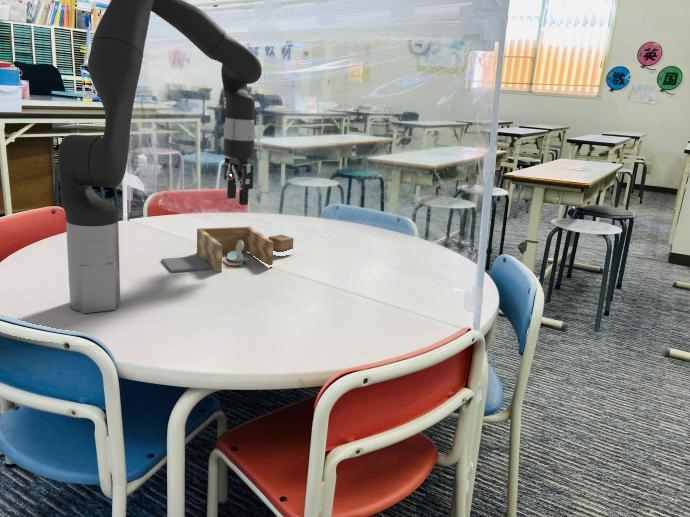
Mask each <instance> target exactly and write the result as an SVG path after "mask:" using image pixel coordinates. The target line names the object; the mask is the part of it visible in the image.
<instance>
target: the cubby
mask: <svg viewBox="0 0 690 517" xmlns="http://www.w3.org/2000/svg"><path fill="white" fill-rule="evenodd" d="M196 229H197V230H196V254H197V256H200V257H201V258H203V259H204V260H205V261H206V262H207V263H208V264H209V265H210V266H211V267H212V270H214V269H215V270H216V271H217V272H216V271H215V270H214V271H215V272H216V273H222V270H223V254H228V253H229V252H231V251H236V245H237V242H238V241H239V240H241V241H243V243H244V248H243V250H242V251H247V252H249V253H250V254H251V255H253V256H255V257H256V258H258V259H259V260H261V261H262V262H264V263H266V264H268V265H272V264H274V255H273V250H274V242H273V241H271V240H270V239H269V237H268V236H265V235H263V234H262V233H260V232H259V231H257V230H255V229H254V228H252V227H251V226H237V227H236V226H233V227H230V226H229V227H228V226H227V227H207V228H206V227H205V228H196ZM242 251H241V253H242ZM247 252H246V253H247ZM249 253H248V254H249ZM250 254H249V255H250ZM251 255H250V256H251ZM253 256H252V257H253Z"/></svg>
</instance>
